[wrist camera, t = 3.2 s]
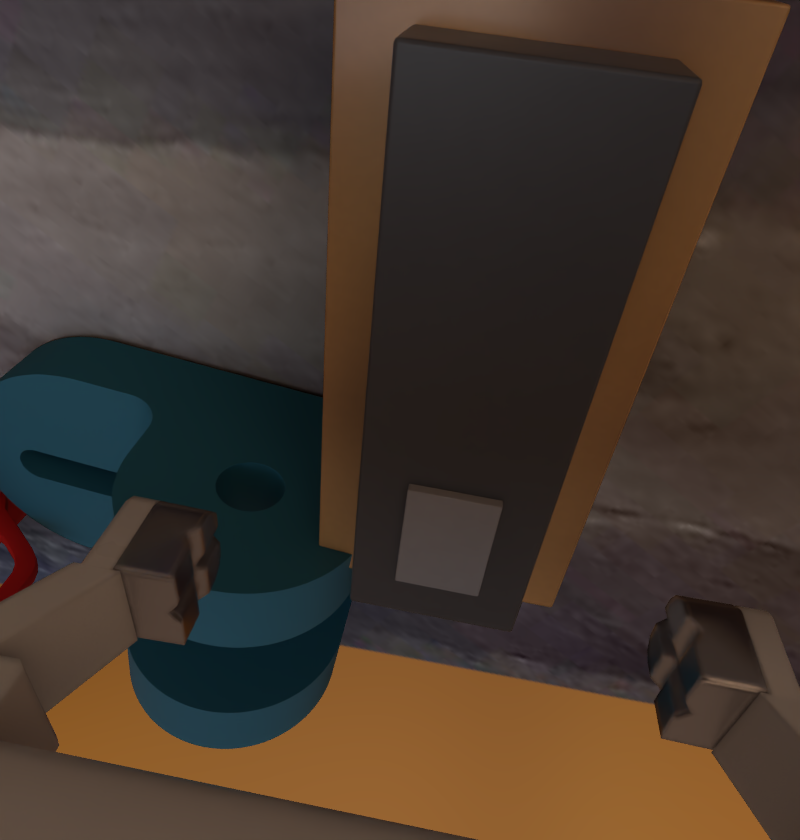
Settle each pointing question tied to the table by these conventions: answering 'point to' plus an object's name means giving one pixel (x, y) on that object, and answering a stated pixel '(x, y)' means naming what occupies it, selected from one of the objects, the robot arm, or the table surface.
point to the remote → (498, 300)
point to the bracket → (199, 488)
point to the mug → (16, 549)
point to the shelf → (662, 259)
